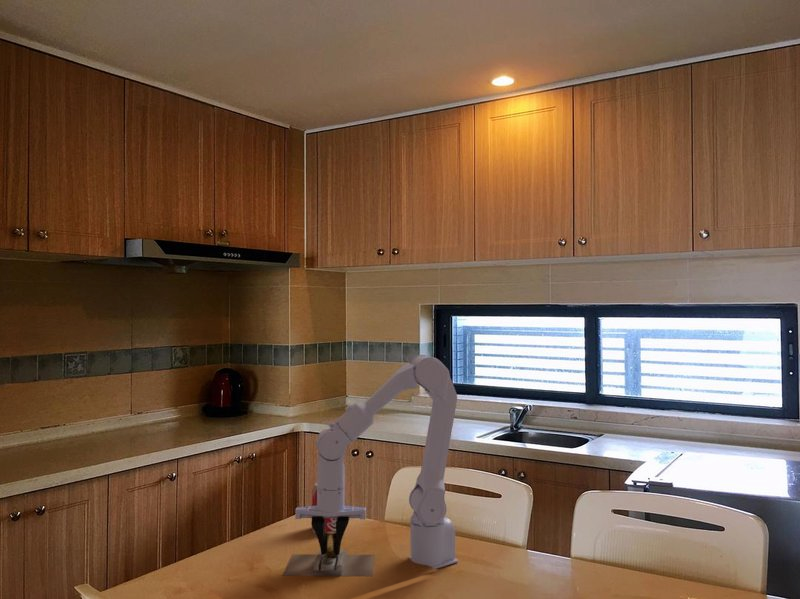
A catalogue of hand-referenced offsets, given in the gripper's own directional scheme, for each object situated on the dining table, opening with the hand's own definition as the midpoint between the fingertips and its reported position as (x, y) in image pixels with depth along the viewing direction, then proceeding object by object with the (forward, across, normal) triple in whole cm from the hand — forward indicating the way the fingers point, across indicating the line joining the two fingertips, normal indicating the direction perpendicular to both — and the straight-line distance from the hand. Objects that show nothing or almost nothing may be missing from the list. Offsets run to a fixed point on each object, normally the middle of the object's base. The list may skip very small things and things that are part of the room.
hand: (330, 553), depth 142 cm
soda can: (+4, +4, -23) cm, 24 cm away
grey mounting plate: (+3, 0, 0) cm, 3 cm away
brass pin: (+1, 0, 0) cm, 1 cm away
